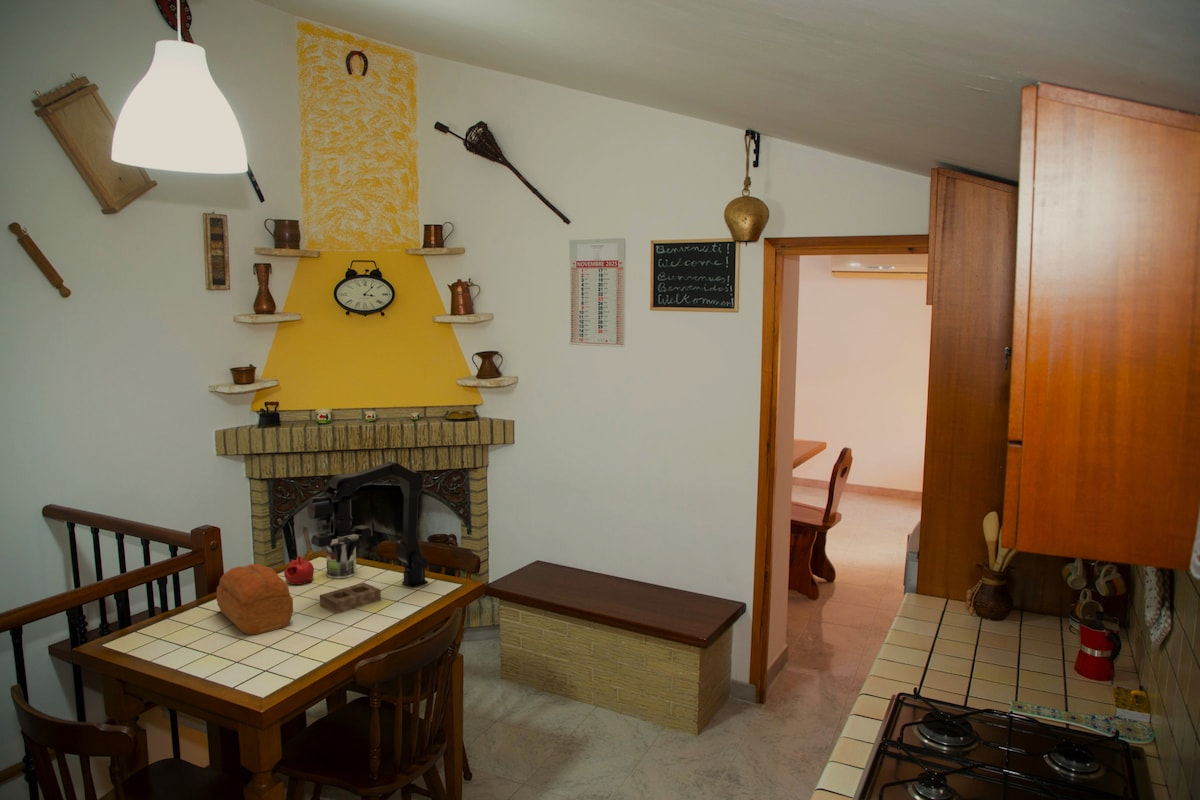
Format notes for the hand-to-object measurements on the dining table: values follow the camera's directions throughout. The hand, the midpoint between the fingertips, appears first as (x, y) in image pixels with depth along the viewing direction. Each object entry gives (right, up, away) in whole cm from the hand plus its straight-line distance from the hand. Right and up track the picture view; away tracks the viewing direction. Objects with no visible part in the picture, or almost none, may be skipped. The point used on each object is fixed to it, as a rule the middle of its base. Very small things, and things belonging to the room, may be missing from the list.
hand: (342, 561), depth 264 cm
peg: (0, -3, 0) cm, 3 cm away
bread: (-23, -15, -12) cm, 30 cm away
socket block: (+2, -13, +1) cm, 14 cm away
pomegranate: (-21, -11, +20) cm, 32 cm away
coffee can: (-9, -10, +28) cm, 31 cm away
